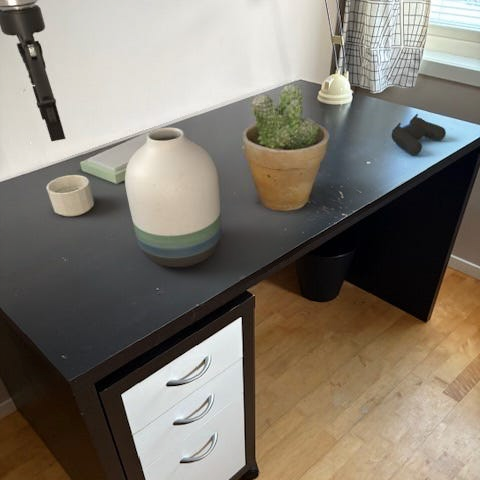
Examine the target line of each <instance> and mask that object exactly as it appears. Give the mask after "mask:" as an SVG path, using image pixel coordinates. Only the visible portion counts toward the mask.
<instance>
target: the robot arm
mask: <svg viewBox="0 0 480 480" xmlns="http://www.w3.org/2000/svg"><path fill="white" fill-rule="evenodd" d="M37 2H38V0H0V30H1V32H2V33H3V34H4V35H7V36H14V37H15V36H16V38H17V39H18V43H16V47H17V50H18V53H19V55H20V57H21V59H22V62H23V64H24V65H25V68H26V71H27V74H28V78H29V80H30V84H31V85H32V91H33V93H34V97H35V100H36V106H37V107H36V108H38V110H39V113H40V117H41V119H42V121H43V120H44V122H45V125H46V128H47V129H46V130H47V132H48V136H49V138H50V141H51V142H57V141H62V140H66V135H65V132H64V129H63V125H62V121H61V117H60V114H59V111H58V107H57V100H56V98H55V96H54V93H53V89H52V87H51V82H50V80H49V79H50V78H49V77H48V74H47V70H46V69H47V66H46V62H45V59H44V56H43V55H44V54H43V48H42V44H41V43H40V42H39V40H35V37H34V34H37V33H41V32H43V31H44V30H46V23H45V20H44V17H43V16H44V15H43V13H42V9H41V6H39V5H38V4H36V3H37Z"/></svg>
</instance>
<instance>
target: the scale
mask: <svg viewBox="0 0 480 480" xmlns="http://www.w3.org/2000/svg"><path fill="white" fill-rule="evenodd" d="M151 131H152V130H150V131H149V130H148V131H147V132H144V133H142V134H140V135H138V136H136V137H133V138H130V139H129V140H126V141H123V142H120V143H118V144H115V145H113V146H111V147H109V148H108V149H106V150H103V151H102V152H99V153H97V154H96V155H92V156H91V157H88V158H87V159H83V160H82V161H79V165H80V168H81V171H82V172H84V173H88V174H90V175H93V176H95V177H98V178H100V179H103V180H106V181H108V182H111V183H113V184H115V185H118V184H119V183H121V182H125V173H126V168H127V165H128V162H129V160H130V159H131V157H132V156H133V155H134V154H135V153H136V151H137V150H139V149H140V148H141V147H142V146H143V145H144V144H145V143H146V142H147V135H148V133H149V132H151Z"/></svg>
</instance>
